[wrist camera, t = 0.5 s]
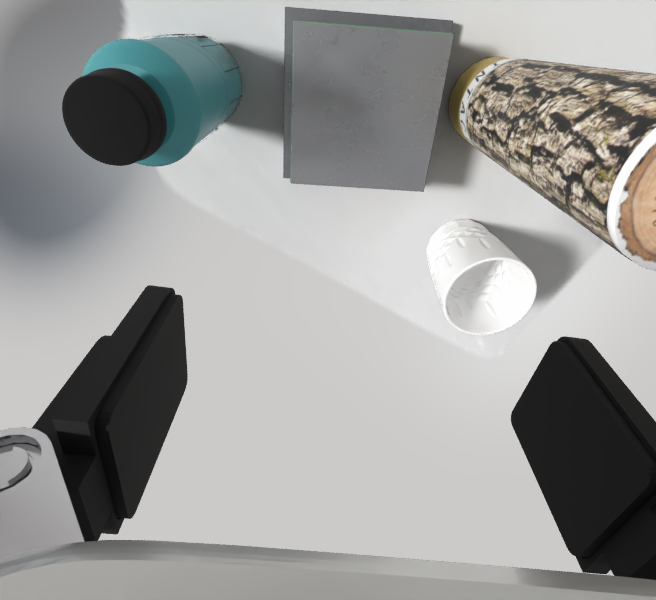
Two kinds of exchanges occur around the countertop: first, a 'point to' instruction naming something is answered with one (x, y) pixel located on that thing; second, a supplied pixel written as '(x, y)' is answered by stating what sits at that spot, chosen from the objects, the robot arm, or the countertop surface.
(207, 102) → the beverage bottle
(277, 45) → the countertop surface
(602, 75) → the paper tube
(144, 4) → the countertop surface
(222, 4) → the countertop surface
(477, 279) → the white cup
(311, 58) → the stand
